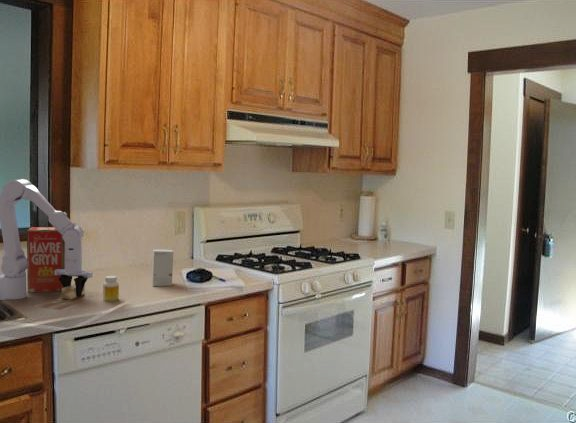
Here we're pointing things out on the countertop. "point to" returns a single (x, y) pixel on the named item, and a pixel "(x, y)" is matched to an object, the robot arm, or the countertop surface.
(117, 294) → the supplement bottle
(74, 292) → the block
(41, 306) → the marked board
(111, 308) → the countertop surface
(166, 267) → the skincare box
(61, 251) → the food packaging
